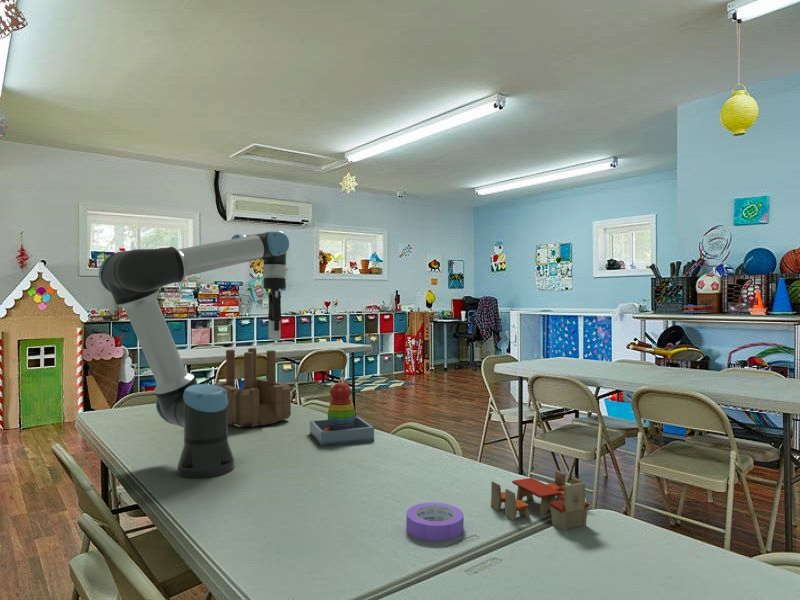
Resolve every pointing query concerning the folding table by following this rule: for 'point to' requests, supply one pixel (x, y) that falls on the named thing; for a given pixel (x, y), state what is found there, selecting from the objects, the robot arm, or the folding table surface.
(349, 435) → the tray
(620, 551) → the folding table surface
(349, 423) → the stacking bear
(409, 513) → the masking tape
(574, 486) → the dollhouse furniture set
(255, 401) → the wooden toy structure
